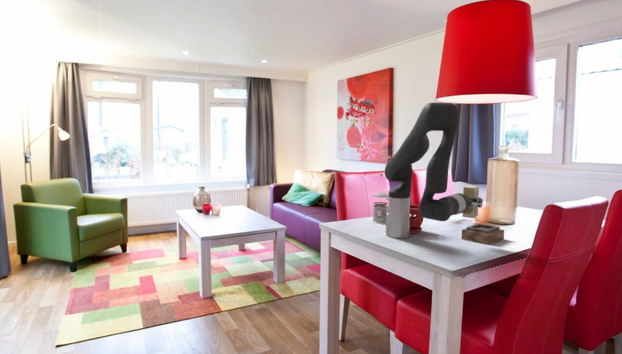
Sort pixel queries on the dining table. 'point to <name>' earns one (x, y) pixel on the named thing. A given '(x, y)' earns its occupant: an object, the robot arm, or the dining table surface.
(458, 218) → the dining table surface
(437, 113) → the robot arm
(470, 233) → the walnut stand
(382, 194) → the french press
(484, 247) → the dining table surface
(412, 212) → the plant pot
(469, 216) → the skincare box
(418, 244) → the dining table surface
